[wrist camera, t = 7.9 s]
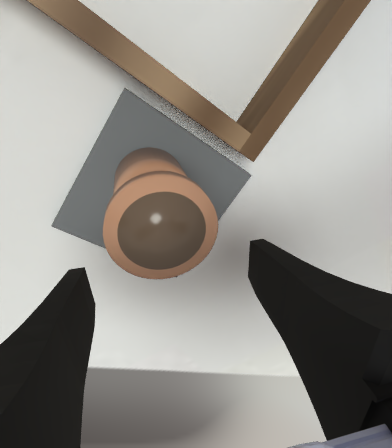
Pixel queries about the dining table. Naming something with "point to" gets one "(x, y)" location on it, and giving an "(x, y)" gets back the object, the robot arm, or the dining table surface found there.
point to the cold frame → (195, 103)
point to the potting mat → (130, 141)
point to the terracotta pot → (157, 217)
